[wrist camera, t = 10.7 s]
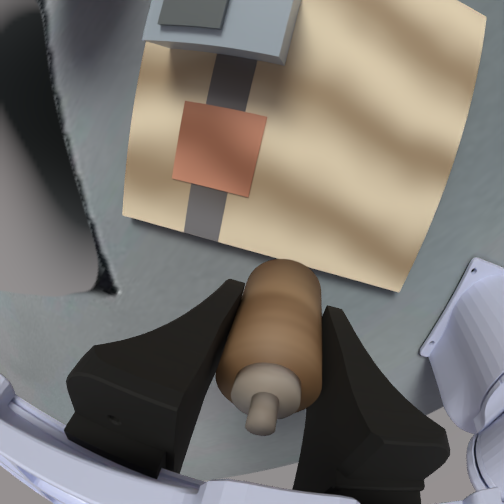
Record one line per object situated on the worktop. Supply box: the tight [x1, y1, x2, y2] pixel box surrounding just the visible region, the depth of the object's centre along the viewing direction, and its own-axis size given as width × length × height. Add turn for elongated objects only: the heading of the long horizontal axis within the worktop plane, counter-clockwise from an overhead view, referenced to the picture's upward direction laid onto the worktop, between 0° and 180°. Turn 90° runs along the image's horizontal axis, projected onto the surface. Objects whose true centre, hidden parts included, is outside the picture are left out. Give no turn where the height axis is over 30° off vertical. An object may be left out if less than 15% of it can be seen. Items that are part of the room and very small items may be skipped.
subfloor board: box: [122, 0, 486, 292], centre depth 17 cm, size 20×20×1 cm
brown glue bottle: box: [216, 259, 322, 436], centre depth 11 cm, size 3×3×7 cm
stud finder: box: [142, 0, 301, 66], centre depth 13 cm, size 4×7×4 cm, turn 77°
